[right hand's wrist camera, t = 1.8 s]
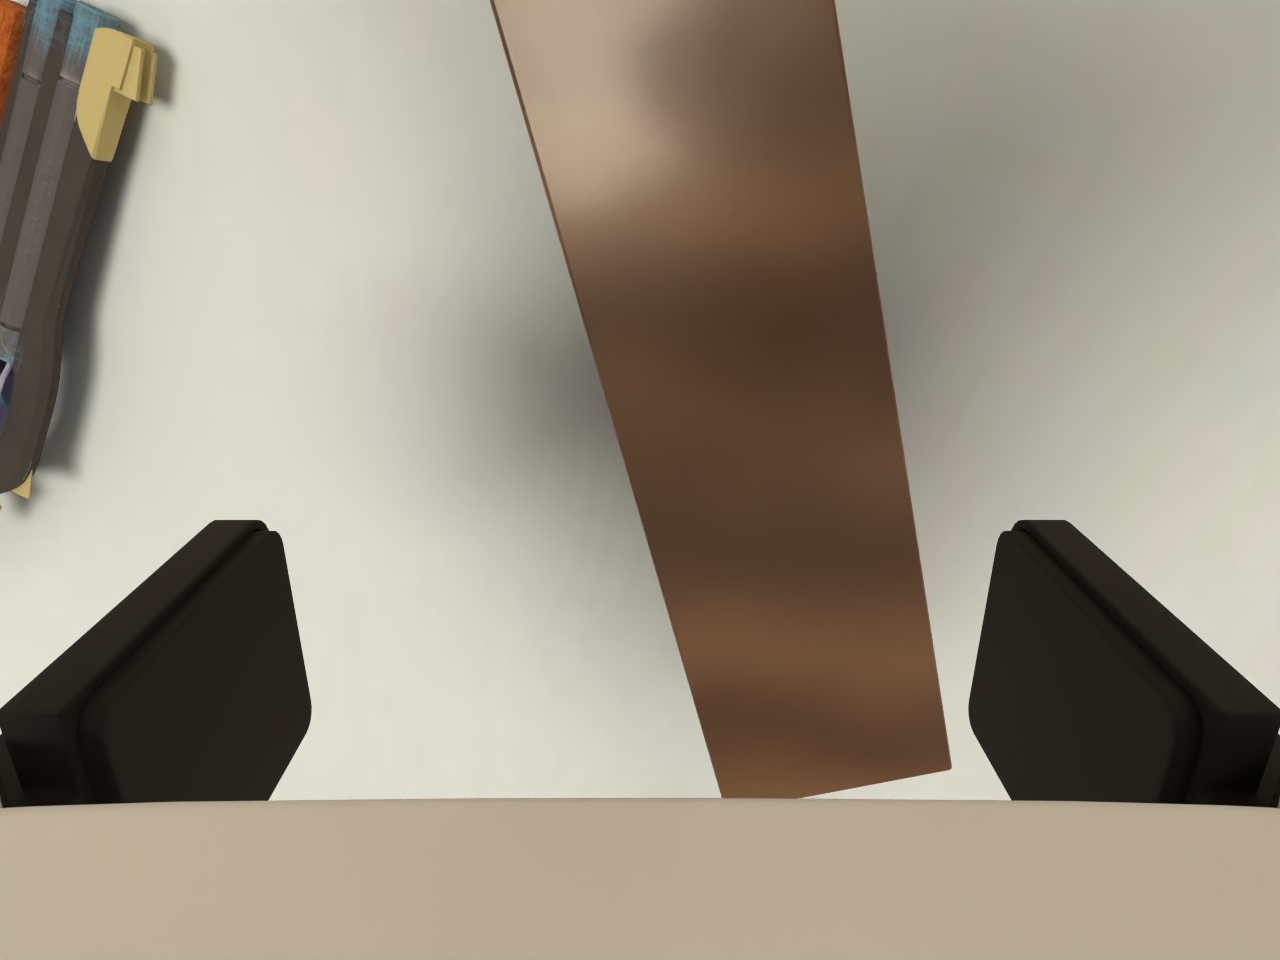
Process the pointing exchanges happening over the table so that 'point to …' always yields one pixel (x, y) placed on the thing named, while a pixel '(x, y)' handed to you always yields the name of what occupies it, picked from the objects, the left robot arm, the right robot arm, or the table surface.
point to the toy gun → (51, 192)
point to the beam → (743, 369)
